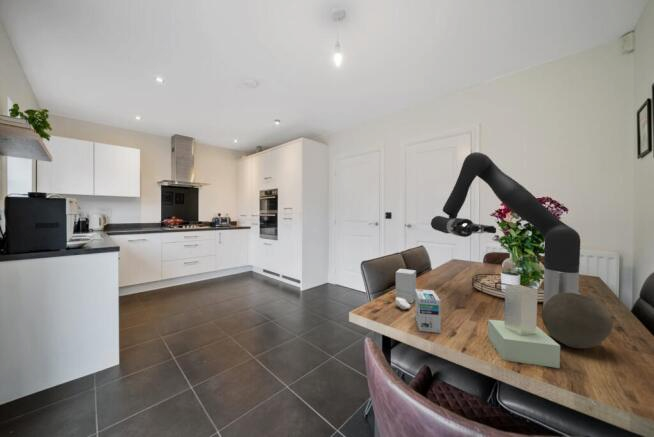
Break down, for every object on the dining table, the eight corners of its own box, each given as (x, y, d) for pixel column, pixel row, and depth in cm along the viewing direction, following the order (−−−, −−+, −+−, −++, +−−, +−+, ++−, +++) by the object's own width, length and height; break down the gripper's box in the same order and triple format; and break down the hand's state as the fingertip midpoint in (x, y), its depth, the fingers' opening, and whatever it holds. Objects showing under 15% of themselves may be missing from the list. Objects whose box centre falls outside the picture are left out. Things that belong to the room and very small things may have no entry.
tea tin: (518, 325, 72) (520, 284, 72) (536, 333, 67) (537, 290, 67) (504, 326, 71) (505, 285, 71) (520, 335, 66) (522, 291, 66)
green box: (534, 344, 73) (534, 324, 73) (559, 369, 62) (560, 345, 62) (487, 338, 77) (488, 319, 76) (503, 361, 65) (504, 338, 65)
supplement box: (416, 298, 110) (416, 270, 109) (412, 303, 104) (412, 274, 103) (399, 295, 114) (400, 268, 113) (394, 300, 108) (395, 271, 107)
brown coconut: (596, 365, 63) (598, 307, 62) (531, 338, 76) (533, 290, 75) (620, 352, 68) (623, 299, 68) (556, 329, 81) (558, 284, 81)
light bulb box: (441, 333, 79) (441, 300, 78) (419, 331, 80) (419, 298, 80) (433, 319, 89) (434, 289, 89) (414, 317, 91) (414, 288, 90)
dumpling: (392, 305, 102) (392, 296, 101) (403, 304, 103) (403, 295, 103) (402, 312, 95) (402, 302, 95) (413, 311, 96) (413, 301, 96)
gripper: (443, 218, 105) (463, 219, 89) (476, 218, 105) (503, 220, 89) (442, 235, 106) (462, 240, 89) (476, 235, 105) (502, 240, 89)
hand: (482, 230), depth 89 cm, fingers open, 8 cm apart
